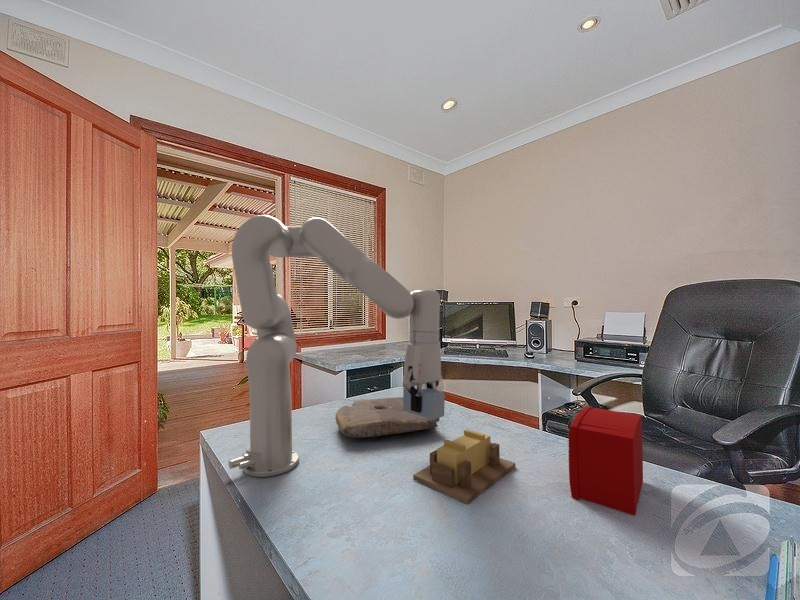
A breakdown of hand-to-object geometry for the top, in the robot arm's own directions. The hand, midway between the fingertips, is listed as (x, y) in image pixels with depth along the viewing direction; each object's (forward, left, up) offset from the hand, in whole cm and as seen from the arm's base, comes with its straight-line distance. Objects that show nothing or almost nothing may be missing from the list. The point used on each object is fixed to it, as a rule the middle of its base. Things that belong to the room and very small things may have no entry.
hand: (422, 408), depth 89 cm
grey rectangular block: (0, 0, -1) cm, 1 cm away
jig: (-1, -14, -12) cm, 18 cm away
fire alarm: (+13, -39, -12) cm, 42 cm away
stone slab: (+7, +23, -12) cm, 27 cm away
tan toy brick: (-1, -13, -11) cm, 17 cm away
